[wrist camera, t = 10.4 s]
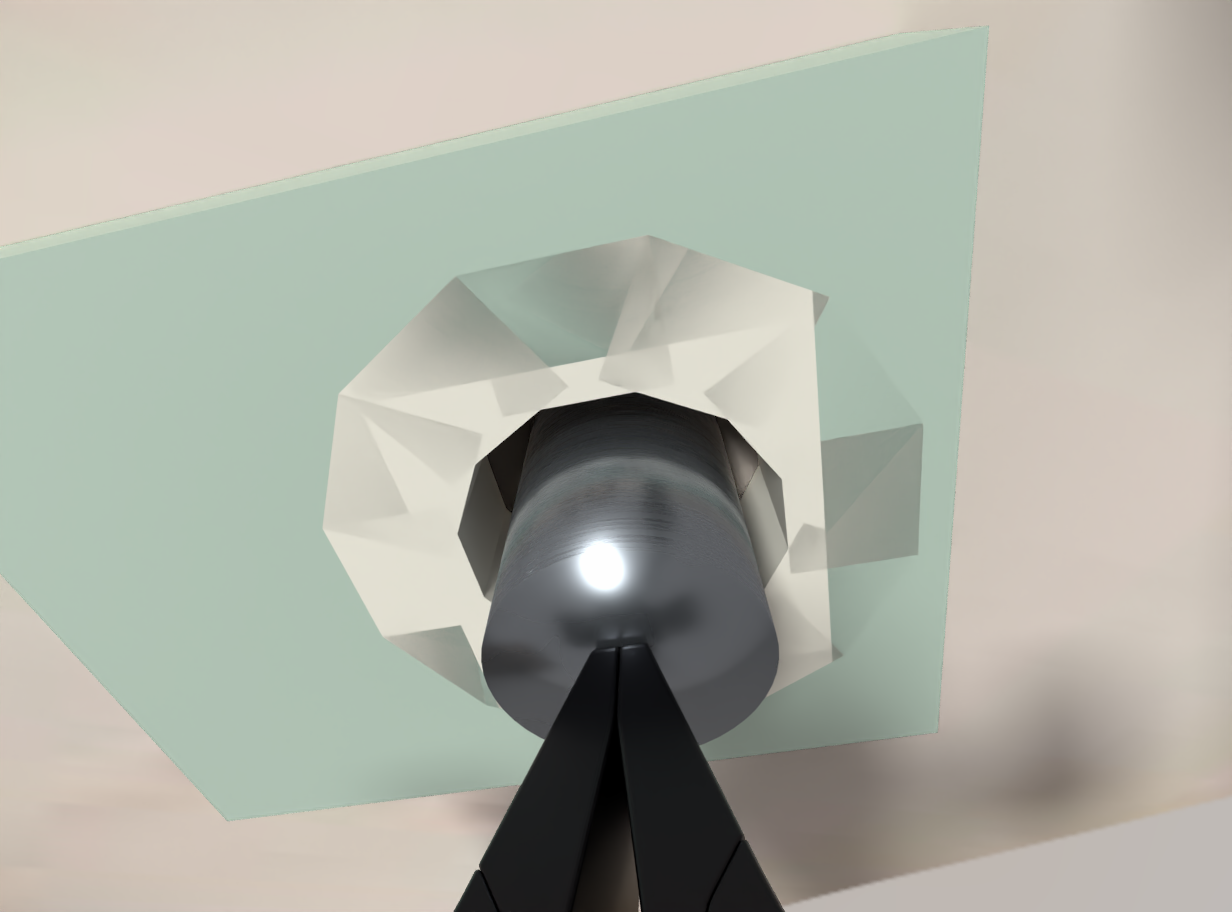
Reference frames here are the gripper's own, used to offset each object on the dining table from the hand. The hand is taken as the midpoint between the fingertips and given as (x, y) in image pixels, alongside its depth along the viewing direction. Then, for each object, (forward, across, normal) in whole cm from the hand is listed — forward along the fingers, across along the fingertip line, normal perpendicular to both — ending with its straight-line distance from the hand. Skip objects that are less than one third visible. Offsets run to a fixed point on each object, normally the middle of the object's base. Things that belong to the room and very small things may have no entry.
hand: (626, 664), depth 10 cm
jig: (+6, +3, 0) cm, 7 cm away
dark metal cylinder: (+6, 0, 0) cm, 6 cm away
